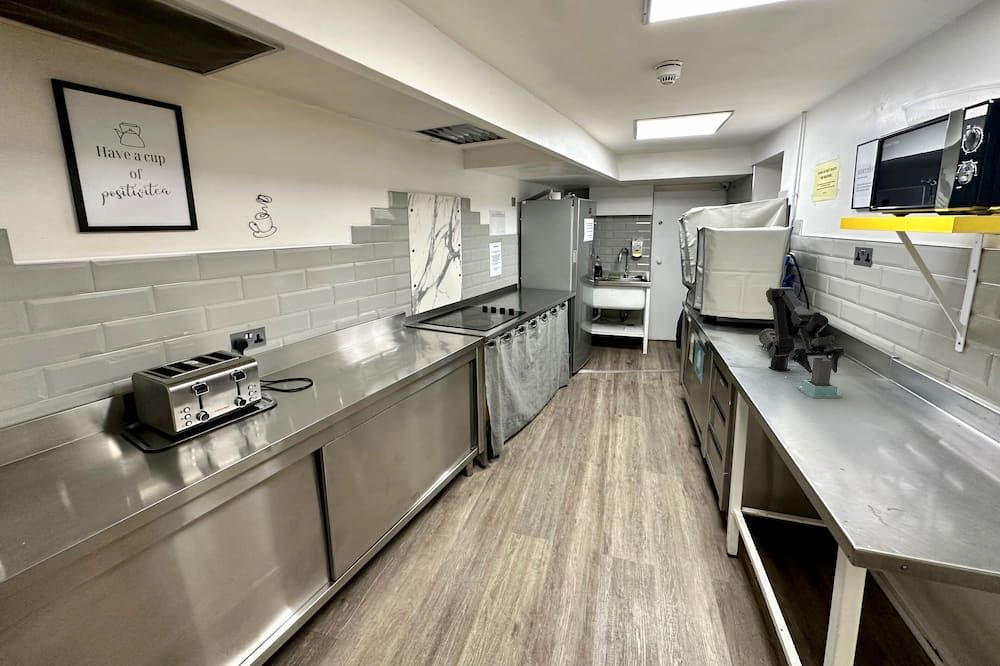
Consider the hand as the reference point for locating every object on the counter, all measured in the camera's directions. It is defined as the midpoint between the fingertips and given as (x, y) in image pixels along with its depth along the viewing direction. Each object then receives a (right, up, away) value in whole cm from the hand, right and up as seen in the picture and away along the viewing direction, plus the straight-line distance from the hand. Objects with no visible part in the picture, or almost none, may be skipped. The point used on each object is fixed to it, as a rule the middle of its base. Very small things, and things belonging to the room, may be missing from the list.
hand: (823, 372), depth 178 cm
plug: (0, -7, +3) cm, 8 cm away
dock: (0, -9, +3) cm, 9 cm away
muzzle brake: (+17, +5, +62) cm, 65 cm away
